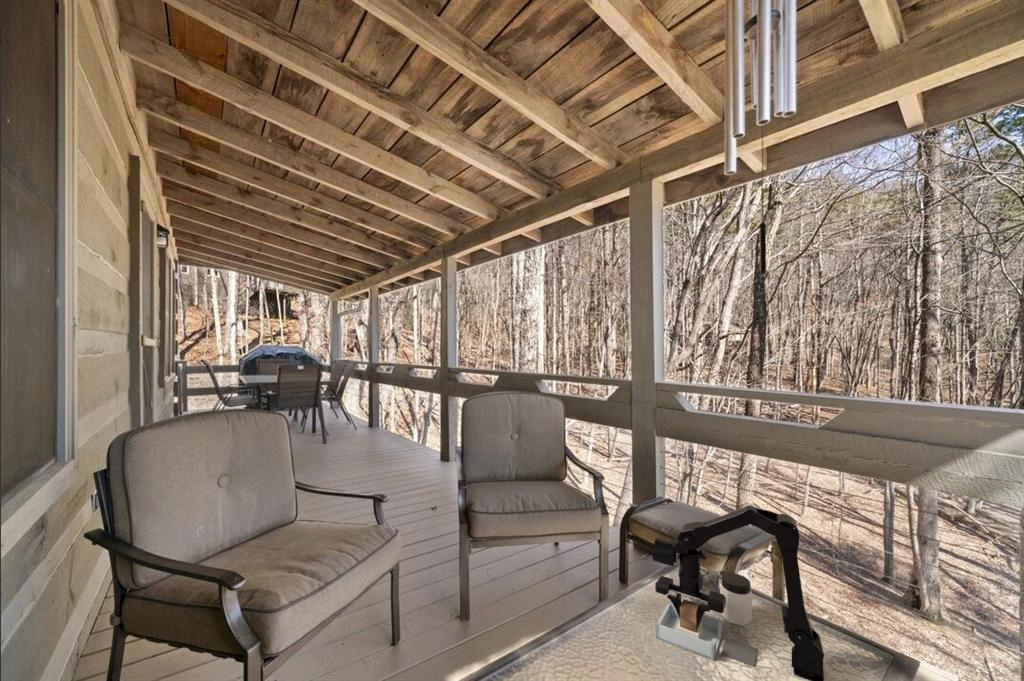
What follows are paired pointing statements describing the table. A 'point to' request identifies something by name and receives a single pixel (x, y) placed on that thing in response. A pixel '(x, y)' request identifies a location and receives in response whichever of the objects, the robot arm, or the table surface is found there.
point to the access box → (690, 633)
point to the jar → (737, 598)
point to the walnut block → (689, 615)
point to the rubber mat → (739, 651)
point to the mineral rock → (709, 584)
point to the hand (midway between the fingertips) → (689, 622)
